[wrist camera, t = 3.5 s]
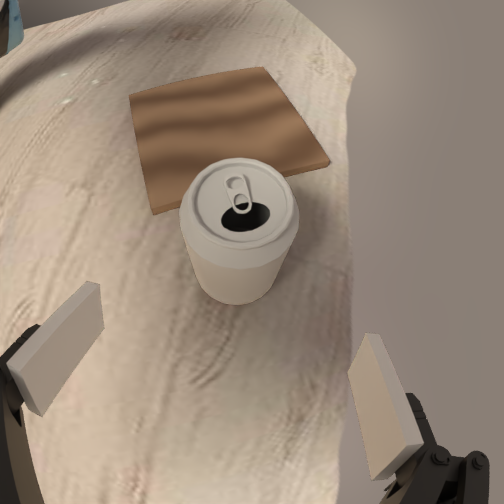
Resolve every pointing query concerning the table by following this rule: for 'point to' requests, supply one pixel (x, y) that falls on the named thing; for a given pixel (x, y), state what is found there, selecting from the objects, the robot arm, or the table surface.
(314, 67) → the table surface
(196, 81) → the walnut board
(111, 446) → the table surface
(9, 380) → the robot arm
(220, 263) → the can
